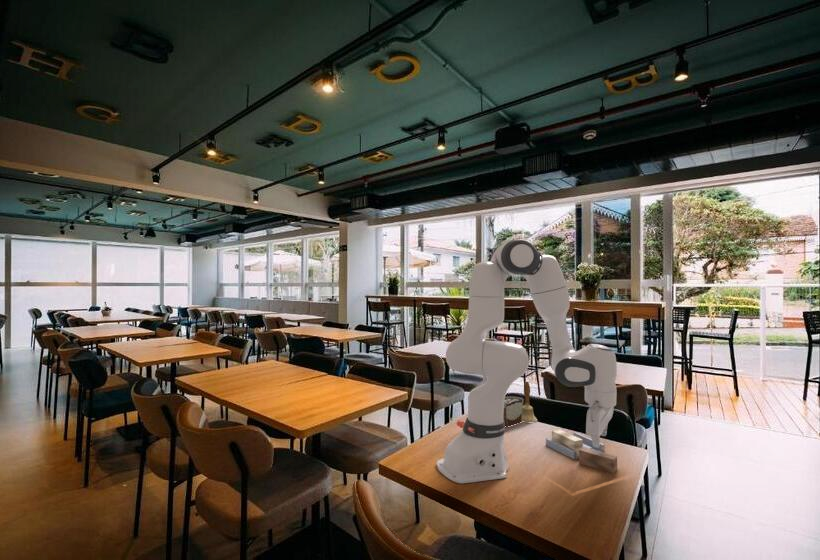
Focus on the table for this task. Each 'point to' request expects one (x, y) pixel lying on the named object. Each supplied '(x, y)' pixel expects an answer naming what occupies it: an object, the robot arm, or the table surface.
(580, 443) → the maple bar
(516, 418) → the food container
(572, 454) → the slot rack
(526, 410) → the hand bell
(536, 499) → the table surface
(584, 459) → the walnut bar
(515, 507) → the table surface
